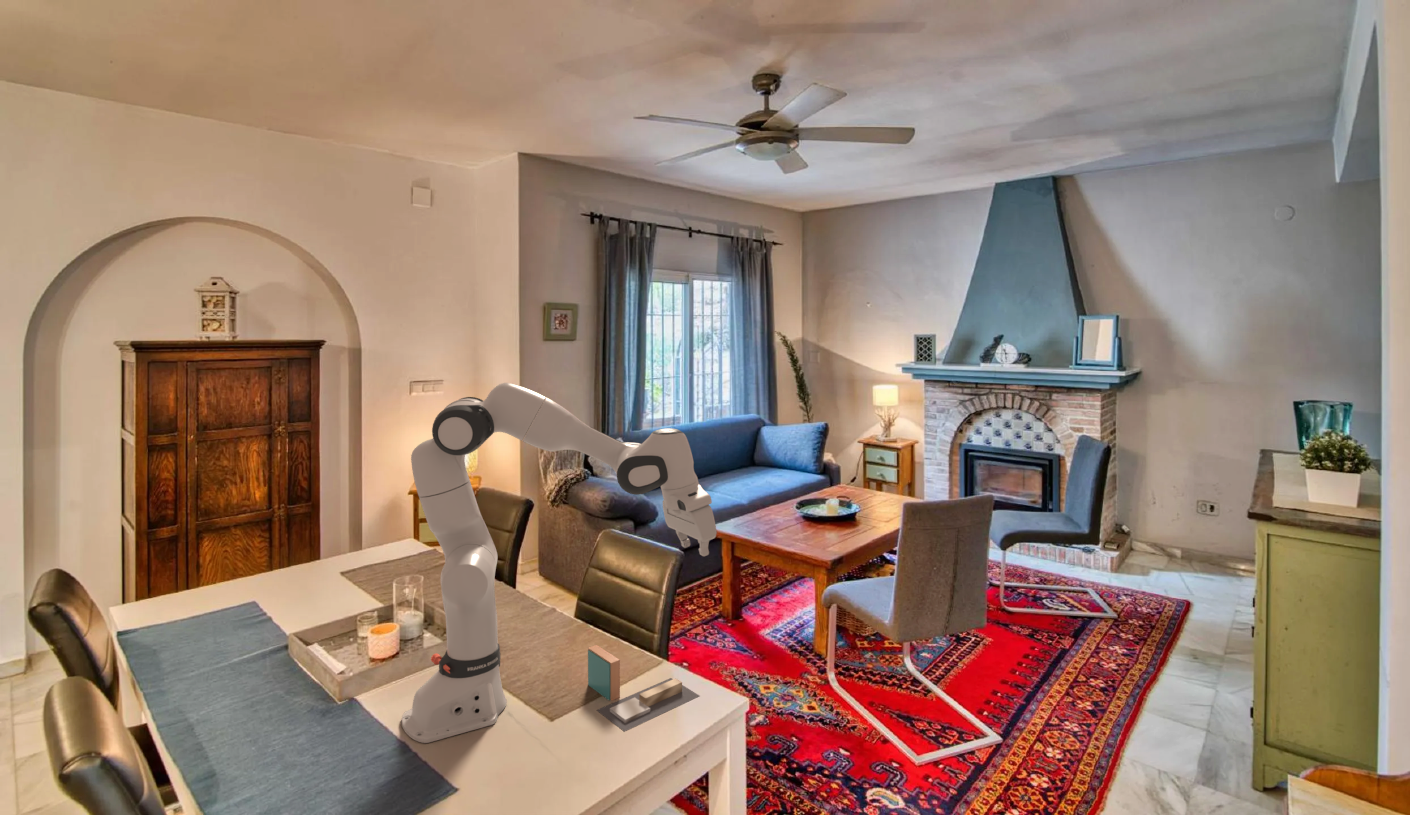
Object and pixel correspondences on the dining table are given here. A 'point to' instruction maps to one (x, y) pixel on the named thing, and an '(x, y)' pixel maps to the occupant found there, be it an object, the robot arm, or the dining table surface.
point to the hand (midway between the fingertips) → (695, 550)
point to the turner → (646, 700)
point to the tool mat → (654, 709)
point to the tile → (604, 672)
